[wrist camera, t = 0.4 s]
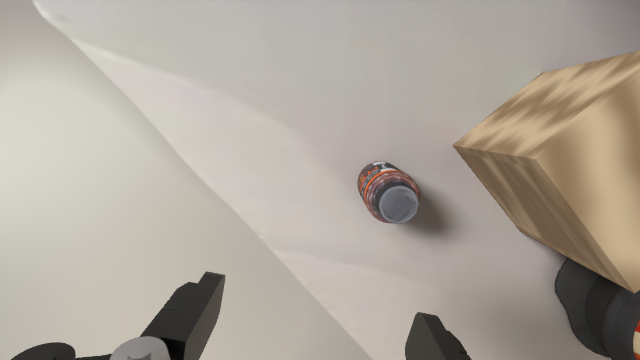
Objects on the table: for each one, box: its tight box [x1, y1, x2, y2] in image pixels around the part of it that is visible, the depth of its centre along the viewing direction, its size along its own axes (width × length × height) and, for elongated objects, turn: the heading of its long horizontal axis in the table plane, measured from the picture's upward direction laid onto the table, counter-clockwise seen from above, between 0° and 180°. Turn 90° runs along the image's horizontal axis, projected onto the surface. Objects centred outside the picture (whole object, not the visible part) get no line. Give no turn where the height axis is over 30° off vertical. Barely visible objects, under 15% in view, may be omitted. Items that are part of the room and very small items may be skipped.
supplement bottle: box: [358, 162, 420, 224], centre depth 35 cm, size 6×6×11 cm
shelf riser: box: [453, 51, 640, 293], centre depth 32 cm, size 14×16×16 cm
